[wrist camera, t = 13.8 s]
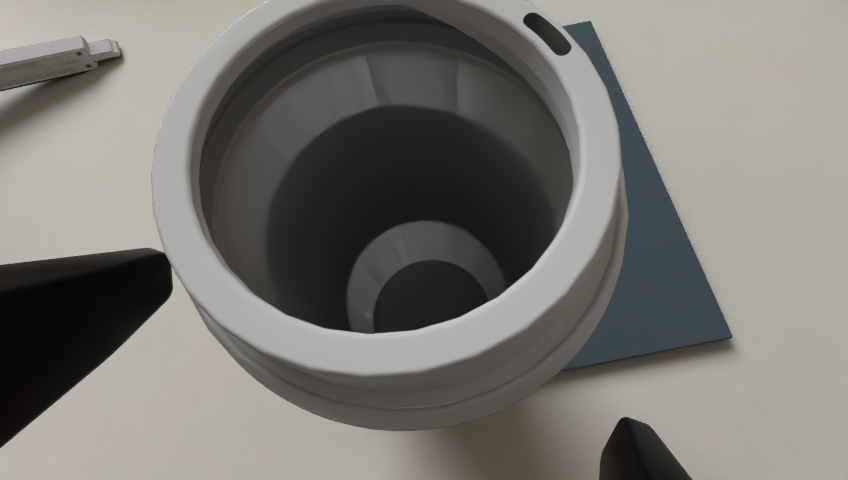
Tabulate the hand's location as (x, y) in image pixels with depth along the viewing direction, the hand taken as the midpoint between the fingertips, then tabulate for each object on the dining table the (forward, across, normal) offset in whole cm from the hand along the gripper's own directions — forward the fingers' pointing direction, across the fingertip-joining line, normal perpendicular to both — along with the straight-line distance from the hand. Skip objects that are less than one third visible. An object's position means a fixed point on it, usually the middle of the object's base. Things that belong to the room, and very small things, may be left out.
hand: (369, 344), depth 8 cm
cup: (+8, 0, +4) cm, 9 cm away
